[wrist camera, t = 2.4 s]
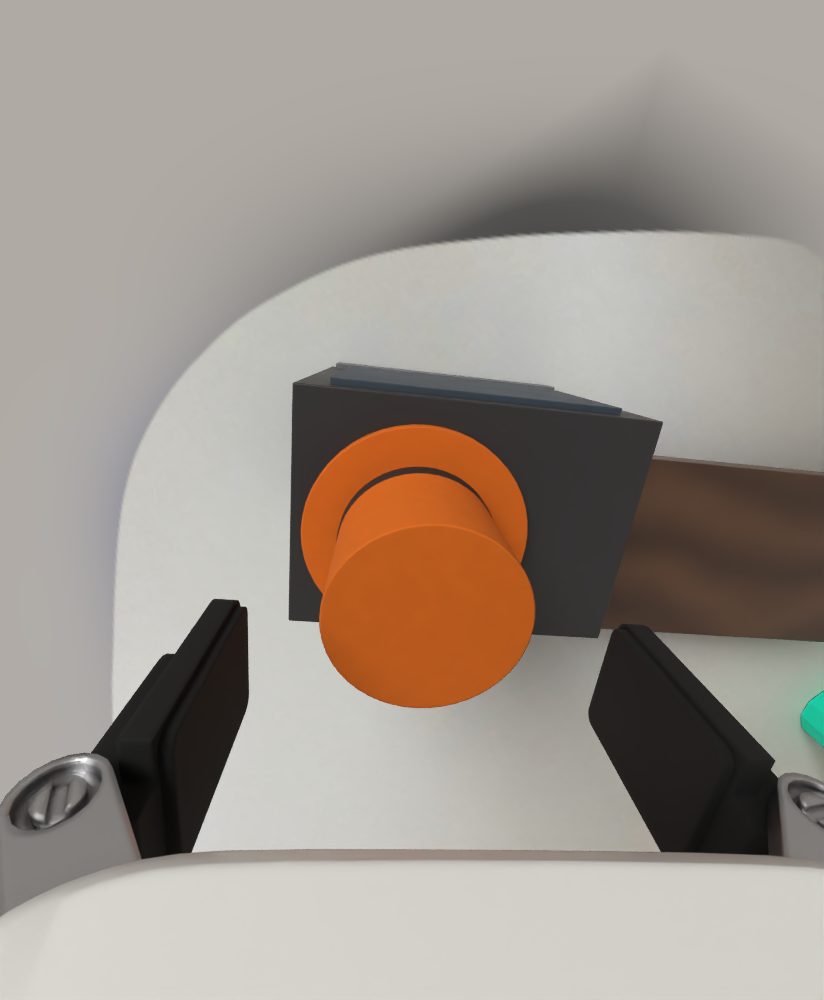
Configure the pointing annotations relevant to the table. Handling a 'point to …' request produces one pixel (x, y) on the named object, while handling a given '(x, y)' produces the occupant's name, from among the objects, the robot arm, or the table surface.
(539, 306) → the table surface
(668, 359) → the table surface
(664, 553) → the stand
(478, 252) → the table surface
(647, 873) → the robot arm
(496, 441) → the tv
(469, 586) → the hat
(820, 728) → the candle
